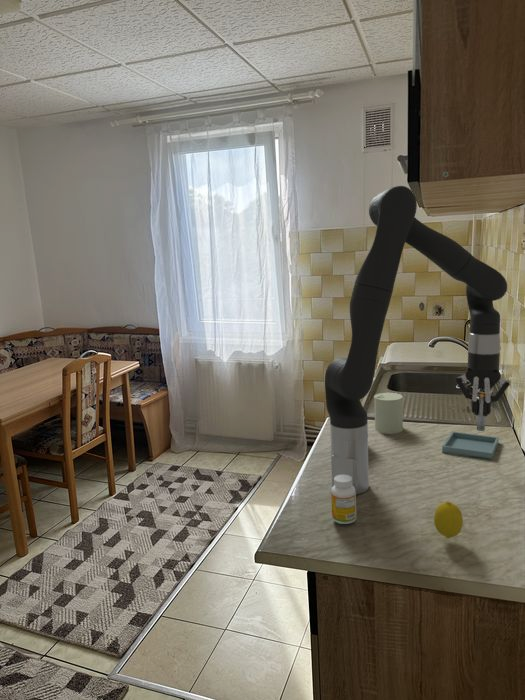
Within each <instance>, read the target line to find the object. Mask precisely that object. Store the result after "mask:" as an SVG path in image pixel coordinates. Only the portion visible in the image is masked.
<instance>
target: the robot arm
mask: <svg viewBox="0 0 525 700" xmlns="http://www.w3.org/2000/svg"><path fill="white" fill-rule="evenodd" d="M412 192H413V191H412V190H411V189H410V188H409V187H407V186H404V185H397V186H393V187H390V188H388V189H385V190H383V191H382V192H380V193H378V194H377V195H376V196H374V197H373V199H372V200H371V201H370V204H369V206H368V215H369V218H370V220H371V222H372V223H373V224H374V226H376V231H375V235H374V238H373V242H372V245H371V247H370V249H369V251H368V253H367V255H366V256H365V258H364V261H363V263H362V265H361V266H360V269H359V270H358V273H357V276H356V278H355V282H354V285H353V288H352V292H351V295H350V301H349V318H350V319H349V320H350V328H351V341H350V348H349V350H348V355H347V357H338V358H335V359H334V360H332V361H331V362H330V363H329V364H328V366H327V367H326V370H325V374H324V390H325V402H326V403H325V405H326V410H327V414H328V416H329V423H330V428H329V429H330V453H331V456H330V457H331V458H330V459H331V462H330V463H331V464H330V465H331V466H330V467H331V488H332V487H333V486H334V477H335V476H337V475H349V476H351V477H352V486H354V488H355V490H356V496H357V495H361V494H363V493H365V492H367V491H368V490H369V487H370V486H369V485H370V483H369V481H370V480H369V479H370V478H369V477H370V476H369V474H370V473H369V440H368V439H369V438H368V437H369V434H368V433H369V431H368V430H369V429H368V428H369V427H368V423H369V422H368V412H367V410H366V408H365V407H364V406H363V405H362V402H361V400H362V399H364V398H365V397H366V396H367V395H368V394H369V392H370V390H371V388H372V386H373V382H374V377H375V372H376V364H377V357H378V352H379V345H380V341H381V338H382V333H383V329H384V325H385V321H386V317H387V313H388V311H389V306H390V304H391V299H392V296H393V291H394V286H395V282H396V278H397V274H398V271H399V267H400V262H401V257H402V253H403V251H404V247H405V244H407V245H408V246H411V247H412V248H413V249H414V250H416V251H417V252H419V253H420V254H421V255H423V256H424V257H426V258H427V259H428V260H430V261H431V262H432V263H433V264H435V266H437V267H439V268H440V269H441V270H442V271H443V272H445V274H447V275H449V276H450V277H451V278H452V279H454V280H455V281H459V282H462V283H463V284H465V285H466V288H465V294H466V295H465V296H466V301H467V307H468V311H469V314H470V321H469V336H468V344H467V345H468V346H467V347H468V349H467V370H466V372H465V373H464V375H463V374H462V375H459V376H457V377H456V379H455V382H456V384H457V385H458V387H459V389H460V390H461V392H462V394H463V396H464V398H465V399H468V400H471V402H472V403H471V412H472V413H473V414H474V416H477V415H478V392H481V391H480V390H481V389H482V390H484V392H485V400H486V402H485V403H484V416H485V417H488V416H489V415H490V414H491V412H492V403H493V402H498V401H499V400H500V399H501V397H502V396H503V394H504V393H505V392H506V390H507V389H508V388H509V386H510V384H511V381H510V380H508V379H506V378H503V377H502V374H501V373H500V359H501V358H500V357H501V337H500V334H501V333H500V332H501V331H500V330H501V329H500V328H501V314H500V312H499V311H498V310H496V309H495V307H494V302H493V301H498V300H500V299H502V298H503V297H504V296H505V295H506V293H507V290H508V283H507V282H508V281H507V280H506V278H505V276H503V274H501V273H500V272H499V271H498V270H497V269H495V268H493V267H492V266H490V265H489V264H487V263H485V262H484V261H482V260H480V259H478V258H476V257H475V256H473V254H472V253H470V252H469V251H468V250H467V249H465V248H464V247H463V246H462V245H461V244H459V243H458V242H457V241H455V240H454V239H452V238H450V237H448V236H447V235H445V234H443V233H441V232H439V231H436V230H435V229H433V228H431V227H429V226H428V225H426V224H424V223H423V222H421V221H420V220H418V218H416V214H417V206H418V204H417V197H416V195H415V193H414V192H413V193H414V194H413V193H412ZM467 381H468V382H469V383H470V385H471V387H472V392H471V390H470V388H469V387H468V385H467ZM498 382H499V385H498V386H499V387H500V388H499V390H498V391H497V392H496V393H495V395H493V387H494V386H496V384H497V383H498ZM364 408H365V409H364Z"/></svg>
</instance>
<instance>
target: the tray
mask: <svg viewBox="0 0 525 700" xmlns="http://www.w3.org/2000/svg"><path fill="white" fill-rule="evenodd" d="M499 440H500V437H497V436H490V435H483V434H474V433H466V432H460V431H459V432H458V431H451V433H450V434H449V436H448V437H447V438H446V440H445V441H444V443H443V445H442V447H441V448H442V449H441V450H442V451H441V452H442V453H443V454H450V455H456V456H463V457H468V458H475V459H481V460H482V459H483V460H487V461H488V460H489V461H492V460H493V458H494V455H495V454H496V451H497V448H498V446H499V444H500V443H499V442H500V441H499Z"/></svg>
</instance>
